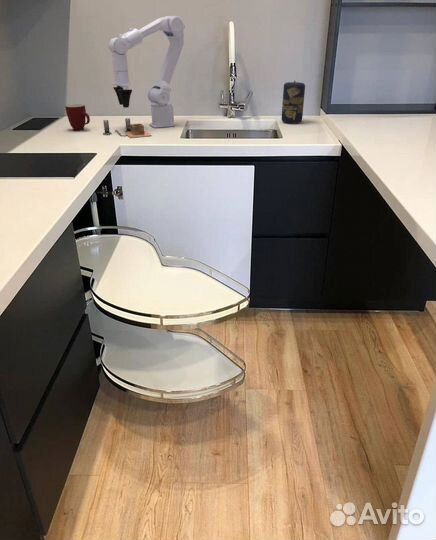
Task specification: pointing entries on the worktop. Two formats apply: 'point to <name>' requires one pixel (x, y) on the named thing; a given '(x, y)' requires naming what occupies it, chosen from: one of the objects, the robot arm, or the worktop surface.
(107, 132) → the post
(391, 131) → the worktop surface
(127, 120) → the post
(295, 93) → the canister
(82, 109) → the mug
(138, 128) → the open wooden crate
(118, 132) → the grey flat l-shaped piece
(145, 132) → the pad
